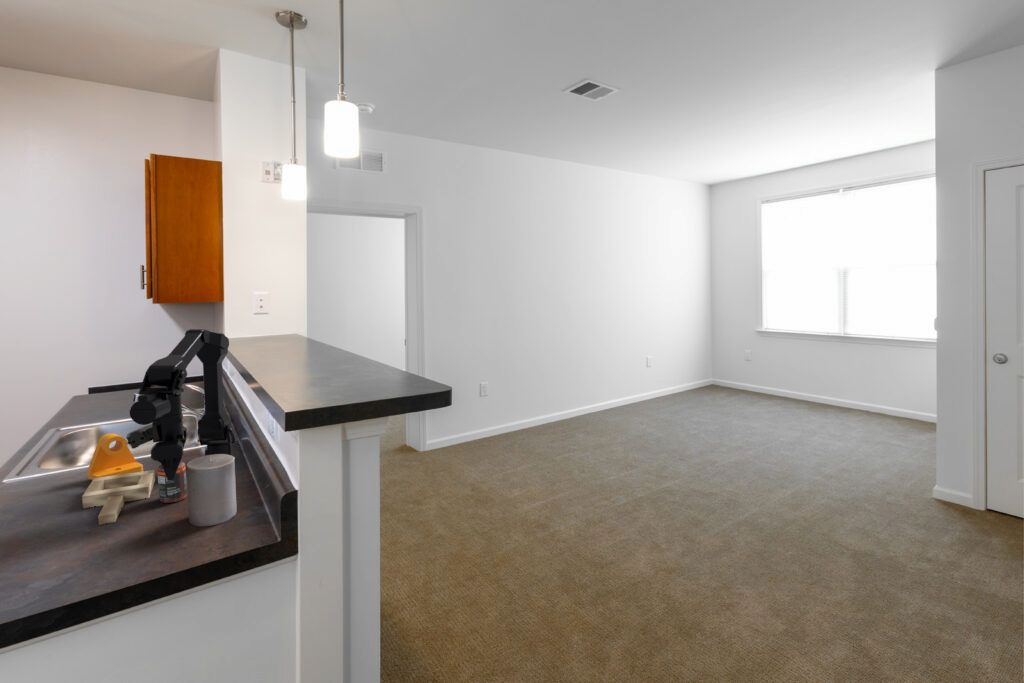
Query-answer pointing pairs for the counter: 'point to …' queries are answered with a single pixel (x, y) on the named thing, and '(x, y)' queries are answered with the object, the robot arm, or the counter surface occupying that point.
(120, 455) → the bracket
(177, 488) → the supplement bottle
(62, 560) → the counter surface
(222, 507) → the pillar candle
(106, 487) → the wooden frame with handle
